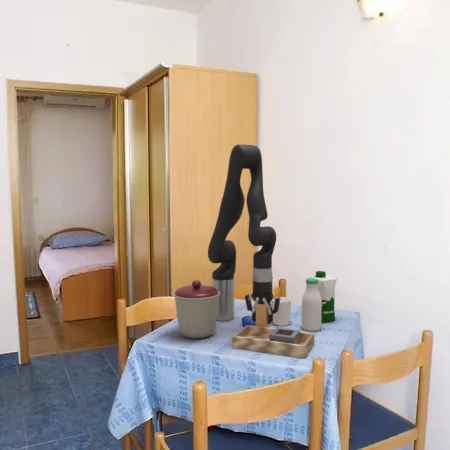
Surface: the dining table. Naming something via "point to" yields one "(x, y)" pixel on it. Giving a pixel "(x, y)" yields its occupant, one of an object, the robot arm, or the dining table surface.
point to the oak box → (271, 342)
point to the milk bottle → (311, 306)
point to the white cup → (282, 312)
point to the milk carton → (326, 295)
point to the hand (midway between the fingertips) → (262, 322)
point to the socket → (285, 335)
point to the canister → (196, 309)
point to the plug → (261, 316)
